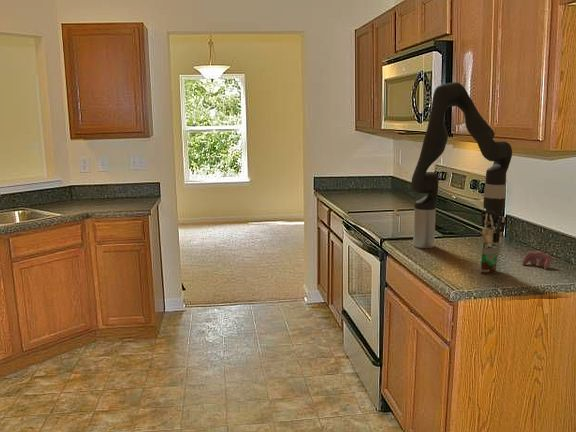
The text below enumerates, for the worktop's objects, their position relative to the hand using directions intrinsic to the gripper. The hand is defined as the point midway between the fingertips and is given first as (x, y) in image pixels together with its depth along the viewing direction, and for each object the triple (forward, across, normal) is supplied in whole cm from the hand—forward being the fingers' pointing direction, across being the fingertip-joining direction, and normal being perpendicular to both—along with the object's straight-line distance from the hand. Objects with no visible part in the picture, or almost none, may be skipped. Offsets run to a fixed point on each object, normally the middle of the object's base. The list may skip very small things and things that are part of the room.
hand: (491, 240), depth 209 cm
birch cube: (0, 0, 0) cm, 0 cm away
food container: (+12, 0, 0) cm, 12 cm away
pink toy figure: (+12, -2, +21) cm, 25 cm away
